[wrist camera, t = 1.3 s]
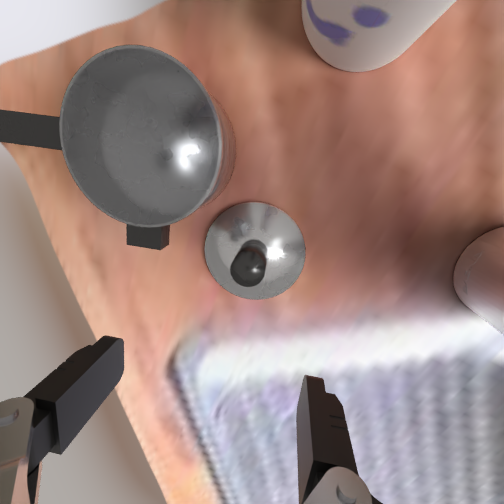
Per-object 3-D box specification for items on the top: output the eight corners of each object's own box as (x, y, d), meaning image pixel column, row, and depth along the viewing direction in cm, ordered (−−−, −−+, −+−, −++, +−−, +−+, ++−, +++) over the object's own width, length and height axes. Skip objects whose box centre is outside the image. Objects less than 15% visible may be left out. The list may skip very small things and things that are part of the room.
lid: (314, 209, 27) (320, 220, 22) (295, 303, 31) (297, 333, 25) (210, 194, 28) (192, 201, 23) (203, 287, 31) (185, 313, 26)
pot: (245, 85, 25) (230, 54, 18) (229, 240, 29) (211, 262, 22) (49, 63, 26) (-32, 27, 19) (61, 214, 30) (-2, 227, 24)
